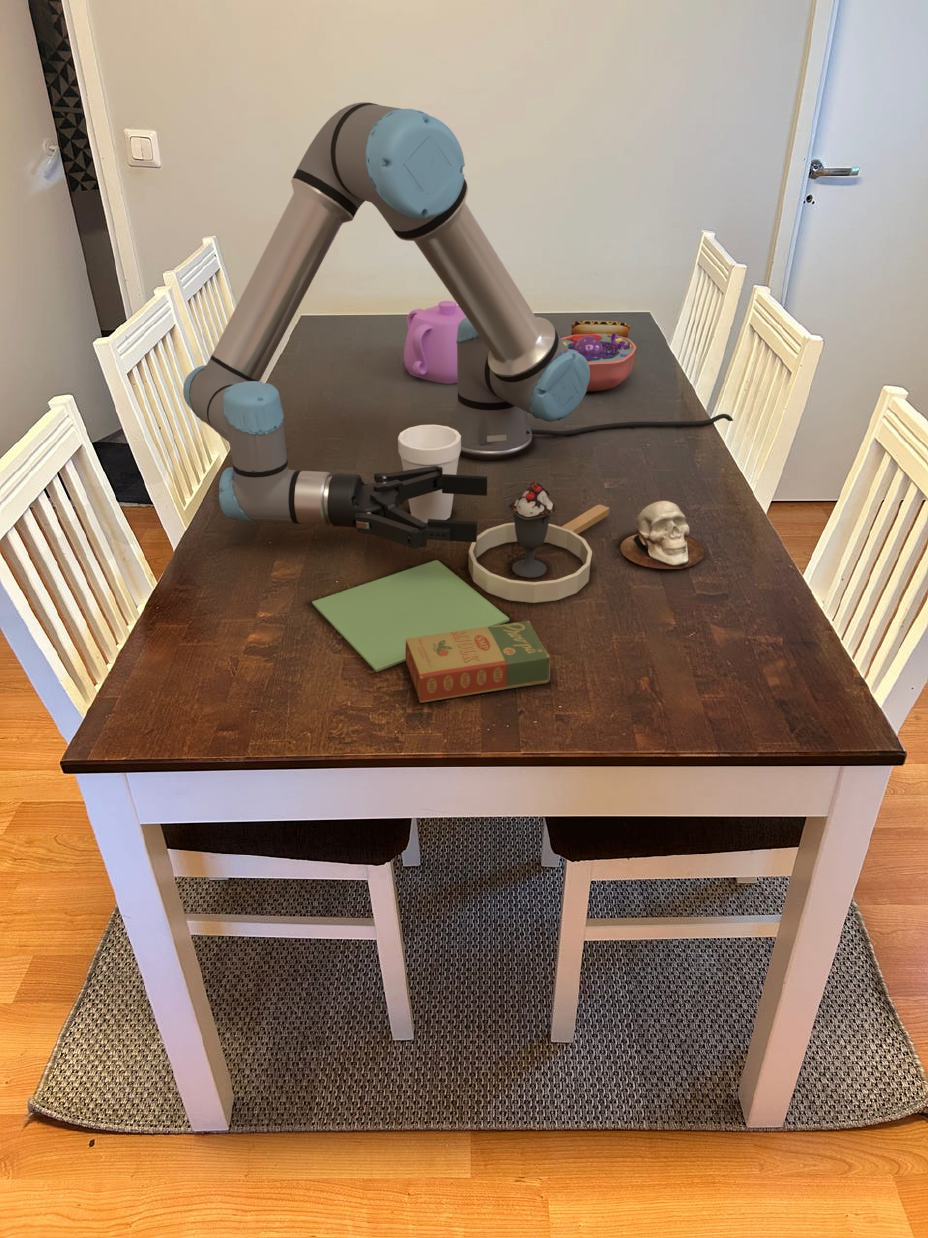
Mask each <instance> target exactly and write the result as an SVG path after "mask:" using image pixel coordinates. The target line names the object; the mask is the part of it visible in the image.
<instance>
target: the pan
mask: <svg viewBox="0 0 928 1238" xmlns="http://www.w3.org/2000/svg"><path fill="white" fill-rule="evenodd" d="M609 515H610V507H609V506H606V505H603V504H601V503H598V504H597V505H595V506H593V507H592V508H590V509H588V510H586V511H585V512H583V513H582V514H580V515H578V516H577V517H575V518H574V519H572V520H570V521H569V522H567V523H565V524H564V525H562V526H559V525H556V524H552V523H549V525H548V530H547V535H546V538H545V541H544V543H547V544H551V545H553V546H556V547H560V548H563V549H566V550H567V551H569V552H571V554H573V555H575V556H576V557H578V558H579V559H580V560H581V563H582V564H583V565H582V566H581V567H580V568H579V569H578V570H576V571H575V572H574V573H571V574H569V575H566V576H563V577H560V578H557V579H550V580H542V581H527V580H517V579H509V578H507V577H504V576H502V575H498V574H495V573H492V572H490V571H489V570H488V569H486V568H485V567H484V566H482V565H481V564H480V563H479V562H478V561H477V559H478V558H479V557H480V556H481V555H482V554H483V553H485V552H486V551H487V550H489V549H491V548H495V547H499V546H500V545H504V544H507V543H519V542H518V541H517V538H516V533H515V523H514V522H508V523H507V522H506V523H502V524H499V525H497V526H493V527H491V528H487V529H485V530H484V531H482V532H480V534H477V542H471V544H470V547H469V549H468V571H469V574H470V577H471V579H472V581H473V583H474V584H476V585H477V586H478V587H479V588H481V589H482V590H483V591H484V592H486V593H488V594H490V595H493V596H496V597H498V598H501V599H504V600H506V601H512V602H521V603H529V604H536V603H537V604H538V603H544V602H552V601H553V602H554V601H558V600H562V599H565V598H567V597H569V596H572V595H575V594H577V593H578V592H579V591H581V589H583V587H585V586H586V585H587V584H588V583H589V580H590V576H591V570H592V559H593V550H592V548H591V546H590V545H589V544H588V542H587V540H586V539H585V538H584V537H582V536H580V535H579V534H581V533H582V532H584V531H585V530H587V529H588V528H590V527H592V526H594V525H595V524H597V523H598V522H600V521H601V520H603V519H604V518H607V517H608V516H609Z"/></svg>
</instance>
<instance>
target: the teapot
mask: <svg viewBox="0 0 928 1238" xmlns="http://www.w3.org/2000/svg"><path fill="white" fill-rule="evenodd" d="M437 304H438V305H434V306H430V307H428V308H425V309H422V308H415V309H413V310H411V311H410V312H409V313H408V315H407V317H406V327H407V334H406V338H405V342H404V348H403V349H404V350H403V363H404V366H405V368H406V370H407V372H408V373H409V375H411V376H413V377H415V378H419V379H421V380H424V381H425V380H426V381H430V382H434V383H438V384H445V385H452V384H453V385H454V384H457V343H456V340H457V332H458V325H459V323H460V322H461V321H462V320H463V319H464V318H466V315H465V314H464V313H463V311H462V310H461V308H460V307H459V305H458V304H457V302H456V301H453V300H443V301H440V302H438V303H437Z"/></svg>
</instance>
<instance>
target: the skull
mask: <svg viewBox="0 0 928 1238" xmlns="http://www.w3.org/2000/svg"><path fill="white" fill-rule="evenodd" d="M635 525H636V529H637V534H636V533H635V534H633V535H631V536H628V537H626V538H625V539H624V540H623V541H622V542H621V544H620V546H619V547H620V548H619V549H620V552H621V554H622V555H623V556H624V557H625V558H627V560H629V561H631V562H633V563H635V564H638V565H639V566H642V567H648V568H650V569H652V568H653V569H662V570H663V569H665V570H674V569H675V570H676V569H677V570H679V569H684V568H685V569H686V568H689V567H691V566H694V565H696V564H697V563H699V562H700V561H701V560H702V559H703V558H704V554H705V551H704V547H702V545H701V544H700V543H699V542H698V541H696V540H694V539H692V538H691V537H687V536H689V534H690V526H689V524H688V523H687V522H686V516H685V514H684V513H683V512H682V510H681V509H680V507H679V505H678V504H676V503H674V502H672V501H669V500H659V501H655V502H652V503H650V504H649V505H646V507H644V508H643V509H642V510H641V511H640V513H639V514H638V516H637V517H636V524H635Z"/></svg>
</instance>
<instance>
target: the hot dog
mask: <svg viewBox="0 0 928 1238" xmlns="http://www.w3.org/2000/svg"><path fill="white" fill-rule="evenodd" d="M630 326H631V325H630V324H629V323H628V322H622V321H618V320H617V321H616V320H595V319H593V320H592V319H591V320H587V319H585V320H577V321H576V320H575V321H573V322H572V324H571V330H570V336H572V335H579V334H617V335H618V336H620V337H624V338H628V337H629V331H630V329H631V327H630Z"/></svg>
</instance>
